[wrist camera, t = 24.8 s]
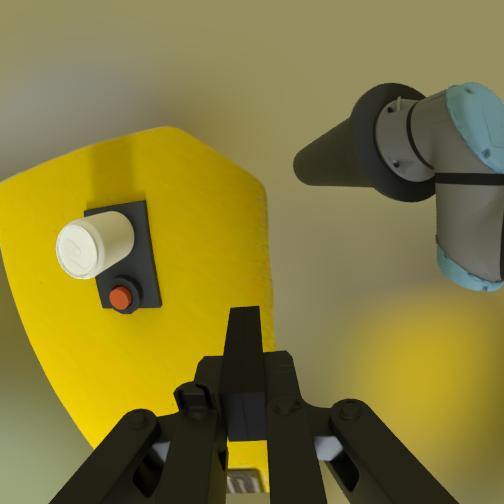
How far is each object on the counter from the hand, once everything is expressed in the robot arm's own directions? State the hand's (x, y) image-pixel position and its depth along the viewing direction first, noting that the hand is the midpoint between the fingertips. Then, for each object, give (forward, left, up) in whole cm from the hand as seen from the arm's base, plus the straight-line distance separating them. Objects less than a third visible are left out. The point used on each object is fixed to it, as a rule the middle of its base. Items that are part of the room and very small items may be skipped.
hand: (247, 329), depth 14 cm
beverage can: (+22, -2, -28) cm, 36 cm away
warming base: (+22, +2, -29) cm, 37 cm away
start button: (+22, +8, -27) cm, 36 cm away
